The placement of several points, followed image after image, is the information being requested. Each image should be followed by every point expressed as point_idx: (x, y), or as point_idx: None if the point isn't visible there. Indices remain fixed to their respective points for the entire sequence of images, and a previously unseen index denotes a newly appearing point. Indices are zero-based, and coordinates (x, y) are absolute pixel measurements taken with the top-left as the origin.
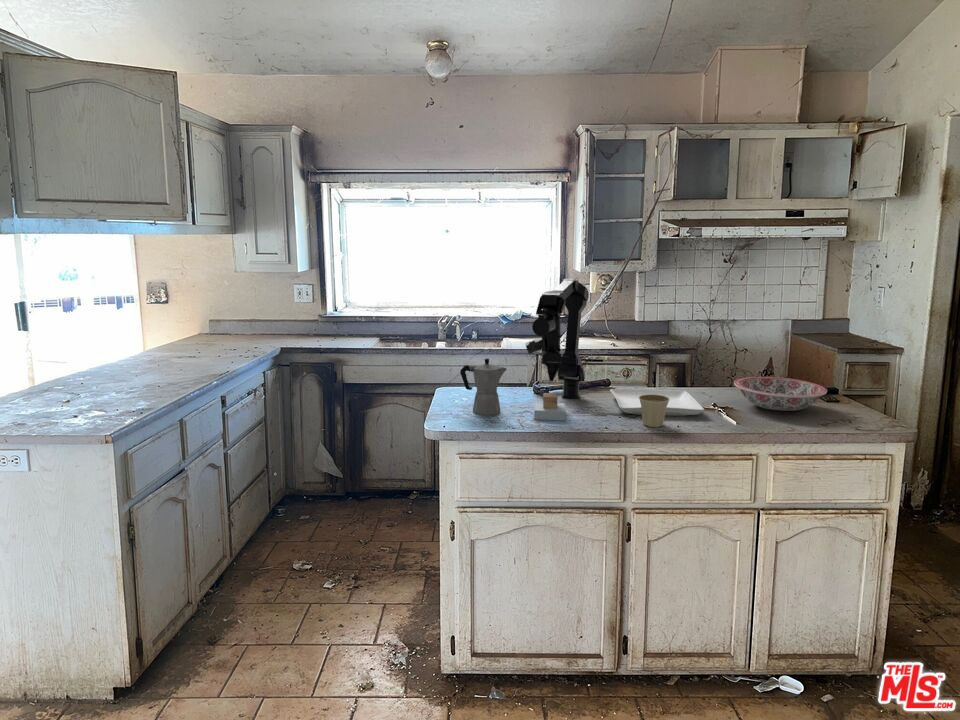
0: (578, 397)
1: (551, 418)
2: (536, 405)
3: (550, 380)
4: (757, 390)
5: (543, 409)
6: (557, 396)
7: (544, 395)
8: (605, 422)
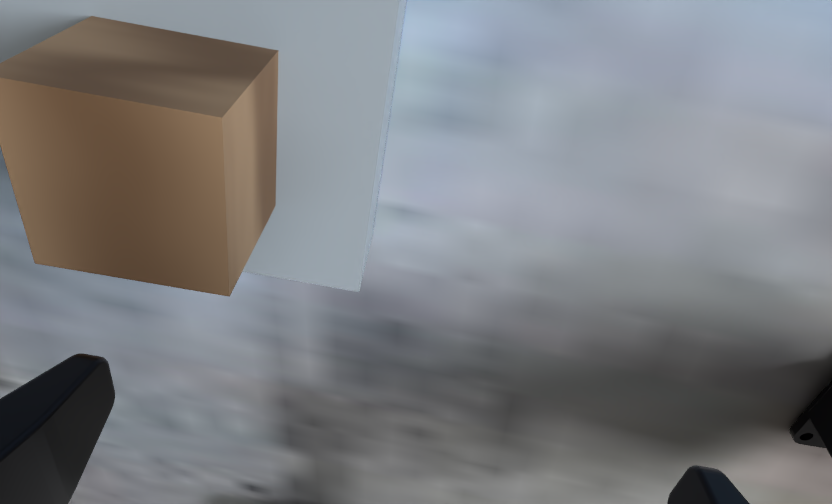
0: (796, 430)
1: None
2: None
3: (79, 367)
4: None
5: (34, 8)
6: (51, 264)
7: (52, 102)
8: (116, 406)
